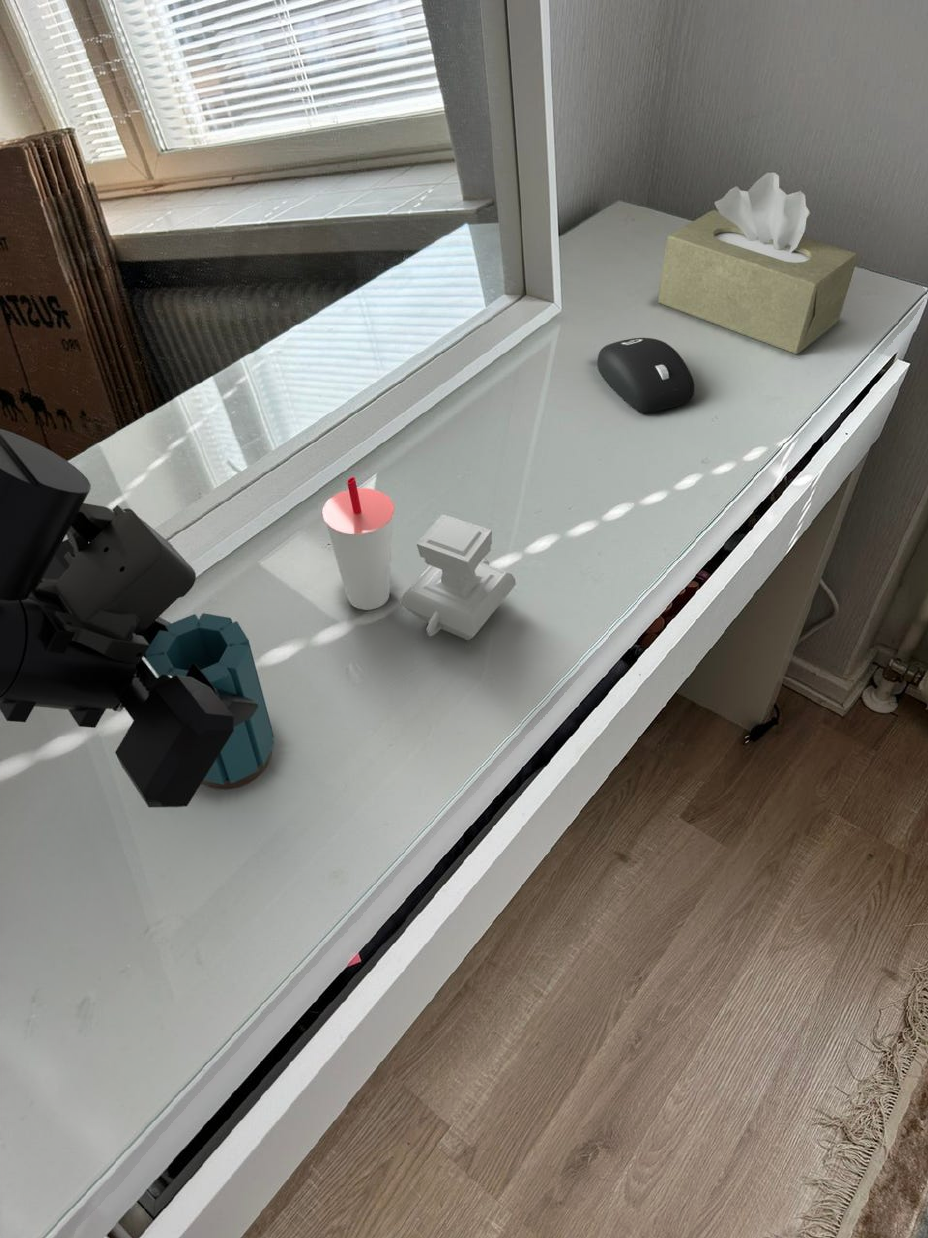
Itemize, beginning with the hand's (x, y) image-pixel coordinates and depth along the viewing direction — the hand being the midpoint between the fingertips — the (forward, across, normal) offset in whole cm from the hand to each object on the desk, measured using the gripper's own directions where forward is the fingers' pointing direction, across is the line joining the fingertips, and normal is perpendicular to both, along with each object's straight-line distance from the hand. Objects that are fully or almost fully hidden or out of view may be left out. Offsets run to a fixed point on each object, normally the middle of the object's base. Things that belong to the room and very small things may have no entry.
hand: (229, 680), depth 59 cm
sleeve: (+3, 0, +5) cm, 6 cm away
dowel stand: (+4, 0, +6) cm, 7 cm away
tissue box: (+59, +18, -48) cm, 78 cm away
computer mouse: (+44, +15, -34) cm, 58 cm away
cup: (+16, +7, -6) cm, 18 cm away
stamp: (+19, 0, -8) cm, 21 cm away
